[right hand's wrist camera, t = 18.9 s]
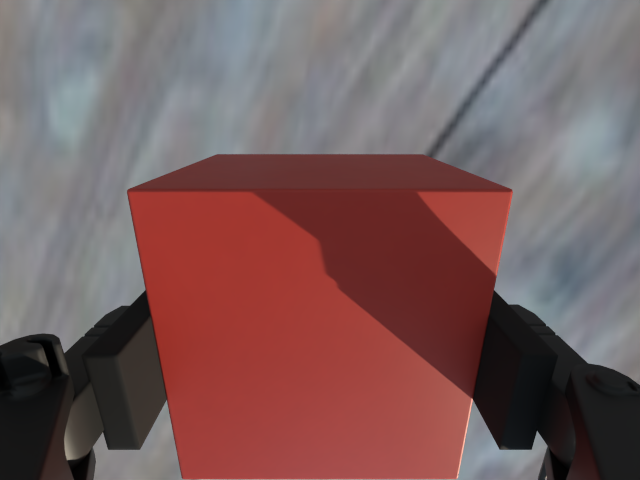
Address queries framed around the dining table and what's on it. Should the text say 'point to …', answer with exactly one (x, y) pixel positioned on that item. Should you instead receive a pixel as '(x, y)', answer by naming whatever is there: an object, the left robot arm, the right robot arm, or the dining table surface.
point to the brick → (319, 311)
